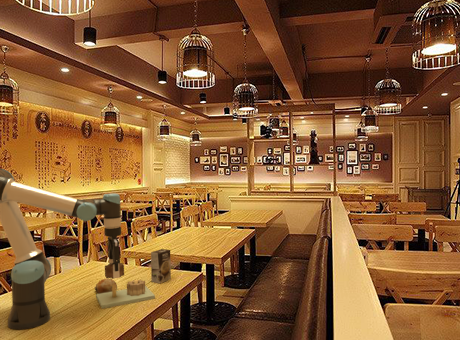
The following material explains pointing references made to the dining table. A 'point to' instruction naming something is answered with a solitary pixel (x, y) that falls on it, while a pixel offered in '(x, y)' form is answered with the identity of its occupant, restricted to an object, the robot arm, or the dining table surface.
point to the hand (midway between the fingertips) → (114, 275)
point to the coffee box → (160, 266)
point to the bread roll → (104, 286)
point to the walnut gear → (110, 270)
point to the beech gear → (136, 288)
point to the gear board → (122, 297)
